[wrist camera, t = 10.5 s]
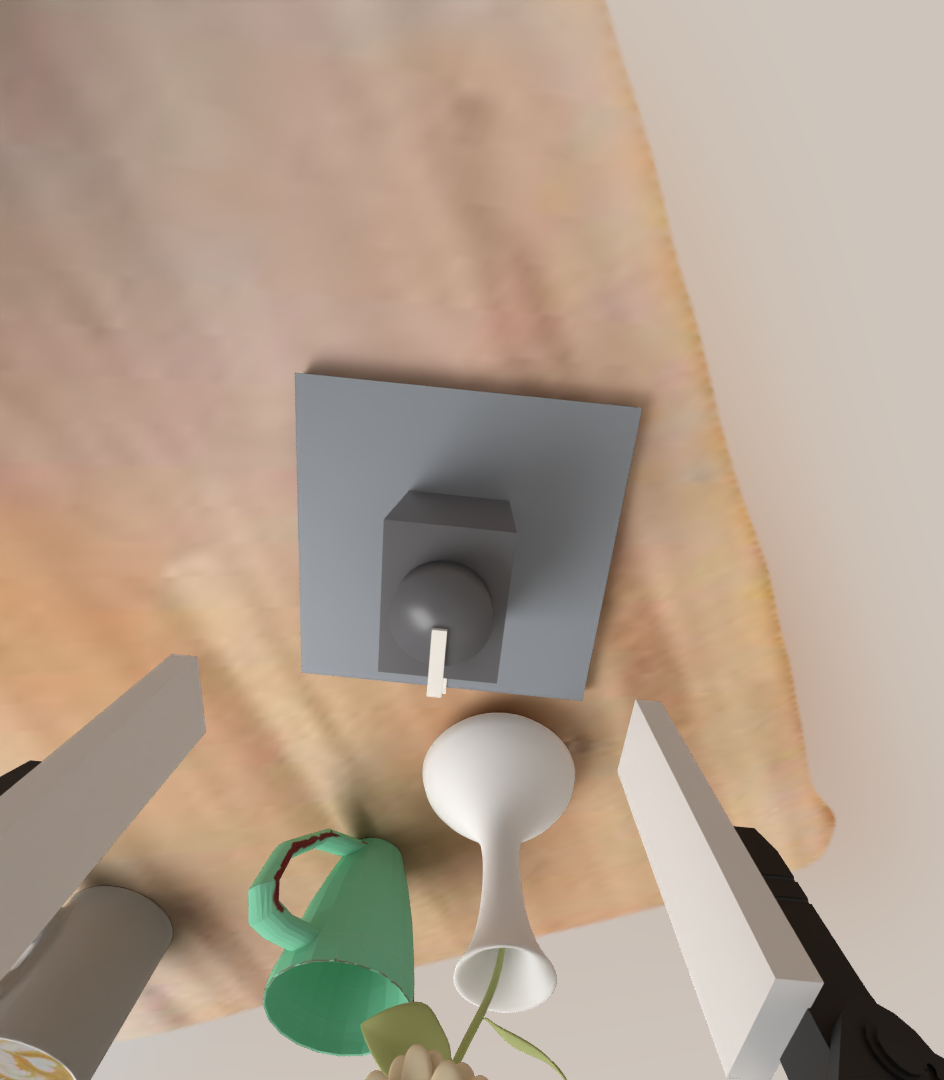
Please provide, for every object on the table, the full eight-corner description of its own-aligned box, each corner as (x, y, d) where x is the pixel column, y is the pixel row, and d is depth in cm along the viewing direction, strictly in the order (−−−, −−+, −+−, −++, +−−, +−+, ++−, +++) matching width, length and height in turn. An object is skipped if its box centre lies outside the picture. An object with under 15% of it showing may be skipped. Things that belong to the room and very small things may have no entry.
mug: (453, 873, 38) (442, 1030, 29) (363, 912, 40) (324, 1072, 31) (351, 756, 35) (301, 890, 25) (258, 805, 37) (178, 947, 27)
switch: (302, 373, 26) (255, 366, 21) (635, 407, 26) (674, 409, 21) (308, 668, 32) (272, 722, 27) (577, 696, 32) (596, 755, 27)
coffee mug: (192, 948, 42) (106, 1107, 33) (104, 966, 43) (-3, 1124, 34) (117, 848, 39) (-4, 995, 29) (24, 871, 40) (-122, 1019, 30)
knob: (409, 490, 27) (374, 529, 19) (509, 500, 27) (519, 544, 19) (402, 610, 29) (369, 692, 21) (494, 619, 29) (497, 705, 21)
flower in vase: (588, 714, 33) (858, 1531, 9) (550, 826, 36) (672, 1636, 12) (417, 681, 33) (229, 1446, 9) (394, 798, 36) (214, 1578, 12)
